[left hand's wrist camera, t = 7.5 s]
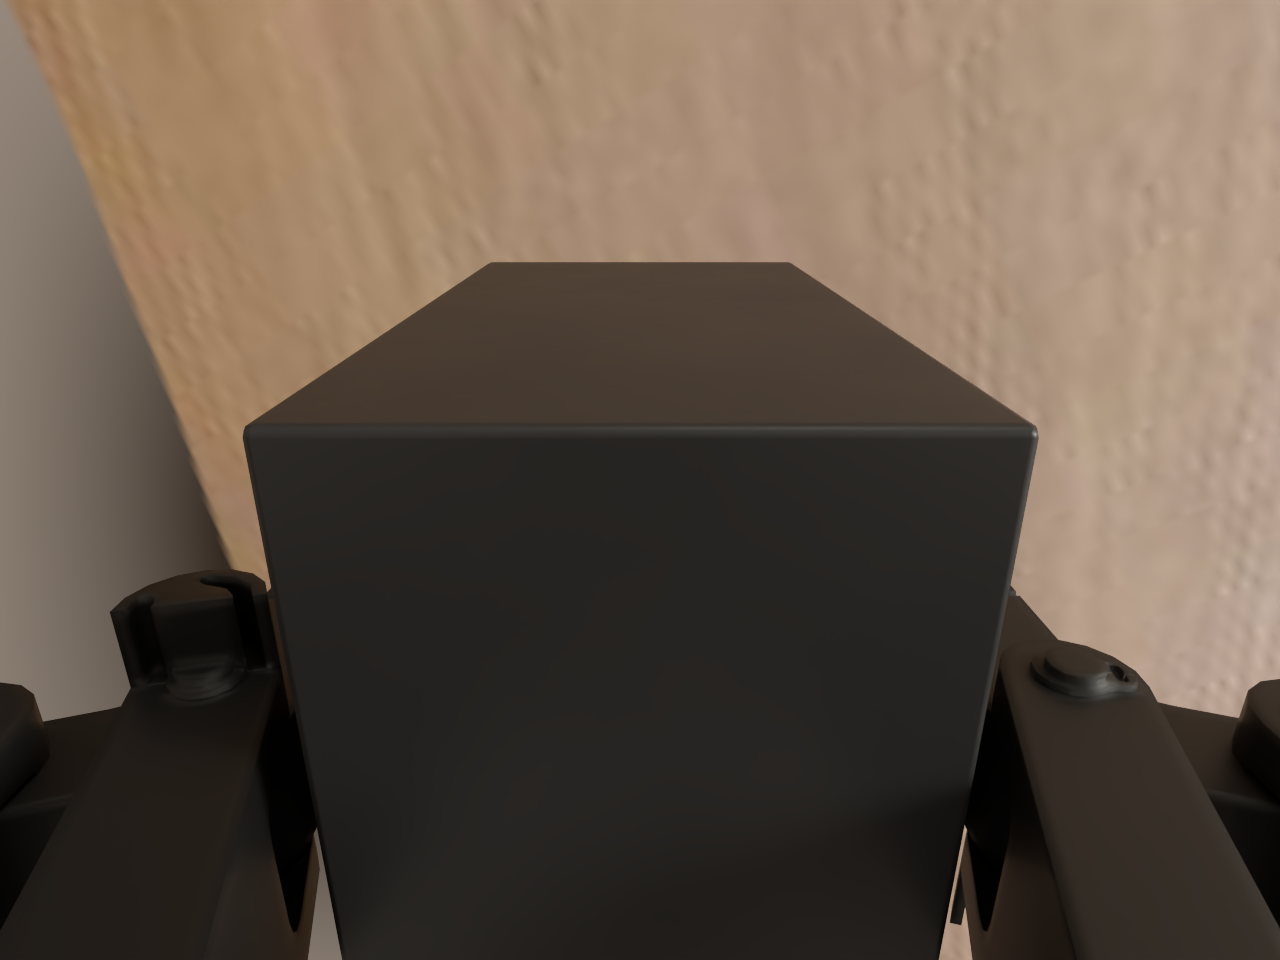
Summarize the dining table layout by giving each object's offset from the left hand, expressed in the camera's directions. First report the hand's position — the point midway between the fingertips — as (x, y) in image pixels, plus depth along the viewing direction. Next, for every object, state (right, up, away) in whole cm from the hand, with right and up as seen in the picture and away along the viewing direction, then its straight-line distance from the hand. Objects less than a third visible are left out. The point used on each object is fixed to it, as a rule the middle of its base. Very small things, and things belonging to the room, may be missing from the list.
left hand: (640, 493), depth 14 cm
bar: (0, -7, +3) cm, 7 cm away
